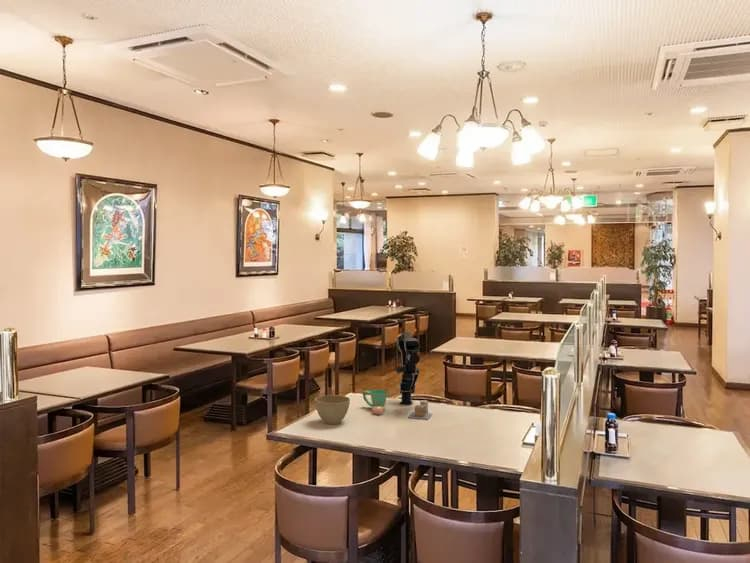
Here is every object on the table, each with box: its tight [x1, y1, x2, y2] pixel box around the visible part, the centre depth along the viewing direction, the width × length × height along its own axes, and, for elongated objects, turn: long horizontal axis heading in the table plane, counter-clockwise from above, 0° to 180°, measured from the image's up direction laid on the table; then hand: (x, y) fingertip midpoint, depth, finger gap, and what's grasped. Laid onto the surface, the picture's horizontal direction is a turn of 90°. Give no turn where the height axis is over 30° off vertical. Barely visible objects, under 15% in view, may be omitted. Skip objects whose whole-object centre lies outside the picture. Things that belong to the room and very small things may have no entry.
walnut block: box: [414, 404, 426, 417], centre depth 307 cm, size 5×5×5 cm
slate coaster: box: [407, 411, 433, 421], centre depth 307 cm, size 11×11×1 cm
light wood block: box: [419, 399, 429, 413], centre depth 317 cm, size 4×4×6 cm
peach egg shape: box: [371, 406, 385, 416], centre depth 312 cm, size 6×6×4 cm
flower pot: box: [314, 394, 351, 425], centre depth 295 cm, size 18×18×12 cm
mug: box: [362, 389, 388, 409], centre depth 323 cm, size 15×10×10 cm
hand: (410, 388), depth 321 cm, fingers open, 9 cm apart
